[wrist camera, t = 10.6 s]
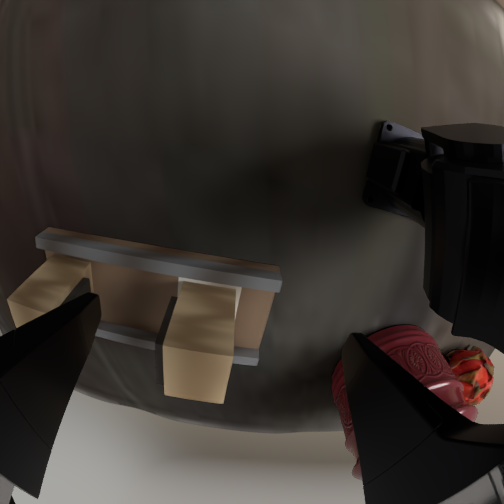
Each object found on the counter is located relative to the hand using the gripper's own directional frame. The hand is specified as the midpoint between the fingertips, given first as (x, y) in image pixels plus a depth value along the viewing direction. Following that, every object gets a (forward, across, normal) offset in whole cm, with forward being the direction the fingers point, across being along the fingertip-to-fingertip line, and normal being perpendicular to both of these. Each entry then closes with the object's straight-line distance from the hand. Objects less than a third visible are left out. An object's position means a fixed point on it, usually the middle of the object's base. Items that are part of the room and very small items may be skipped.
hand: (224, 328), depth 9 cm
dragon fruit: (+12, -32, +14) cm, 37 cm away
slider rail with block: (+12, +6, +8) cm, 16 cm away
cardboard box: (+11, +1, +8) cm, 13 cm away
